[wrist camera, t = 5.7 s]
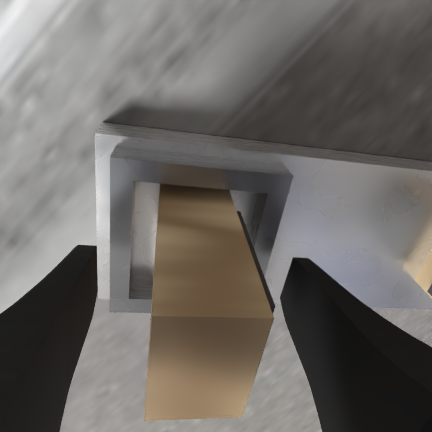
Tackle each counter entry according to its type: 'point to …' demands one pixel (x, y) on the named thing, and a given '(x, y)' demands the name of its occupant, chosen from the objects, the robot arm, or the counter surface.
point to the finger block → (204, 308)
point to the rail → (267, 211)
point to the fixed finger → (426, 276)
